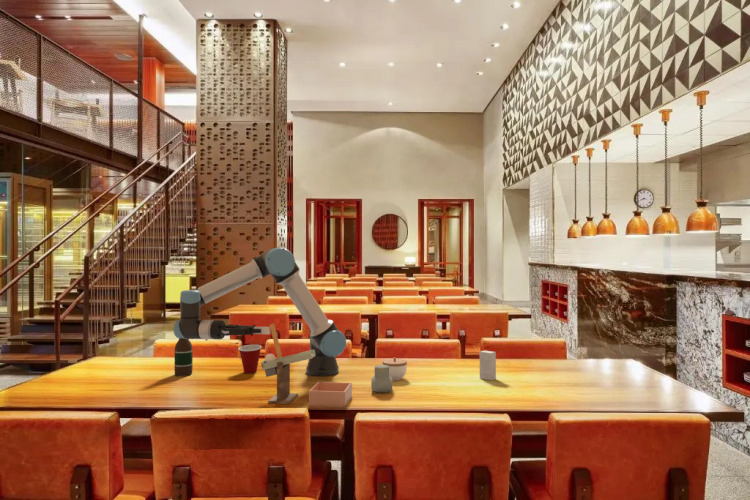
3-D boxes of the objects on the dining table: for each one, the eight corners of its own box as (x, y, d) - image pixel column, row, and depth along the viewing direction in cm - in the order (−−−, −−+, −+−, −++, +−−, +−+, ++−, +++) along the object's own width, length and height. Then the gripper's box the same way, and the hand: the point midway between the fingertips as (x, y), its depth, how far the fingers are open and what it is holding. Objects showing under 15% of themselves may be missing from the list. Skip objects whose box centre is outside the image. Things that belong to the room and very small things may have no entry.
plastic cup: (233, 373, 235) (233, 347, 235) (247, 368, 245) (247, 343, 245) (252, 375, 231) (252, 349, 231) (266, 370, 241) (266, 345, 241)
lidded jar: (405, 382, 218) (404, 360, 218) (380, 381, 221) (380, 359, 221) (408, 376, 229) (408, 355, 229) (385, 375, 231) (384, 354, 231)
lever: (263, 378, 190) (252, 330, 190) (272, 372, 200) (261, 326, 201) (312, 366, 187) (300, 318, 188) (319, 361, 197) (308, 314, 198)
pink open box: (308, 406, 184) (308, 390, 184) (317, 395, 198) (317, 381, 198) (345, 407, 182) (345, 392, 182) (351, 397, 196) (351, 382, 196)
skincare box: (496, 379, 224) (496, 351, 224) (491, 380, 221) (491, 353, 221) (484, 376, 228) (484, 350, 228) (479, 378, 225) (479, 351, 225)
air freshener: (372, 387, 210) (372, 363, 210) (392, 387, 210) (392, 363, 210) (371, 394, 199) (371, 369, 199) (392, 394, 199) (392, 369, 199)
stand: (268, 403, 188) (268, 362, 188) (277, 395, 198) (277, 356, 199) (289, 404, 186) (289, 363, 187) (297, 396, 197) (297, 357, 198)
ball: (261, 362, 193) (263, 352, 193) (270, 362, 196) (272, 352, 196) (268, 366, 190) (270, 355, 190) (276, 365, 193) (278, 355, 193)
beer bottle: (196, 373, 236) (196, 321, 236) (184, 377, 228) (184, 323, 229) (182, 372, 238) (182, 320, 239) (170, 375, 231) (170, 323, 231)
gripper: (220, 336, 209) (275, 337, 206) (205, 341, 196) (264, 343, 193) (220, 318, 209) (275, 318, 206) (205, 322, 196) (264, 323, 193)
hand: (269, 330), depth 199 cm, fingers closed
